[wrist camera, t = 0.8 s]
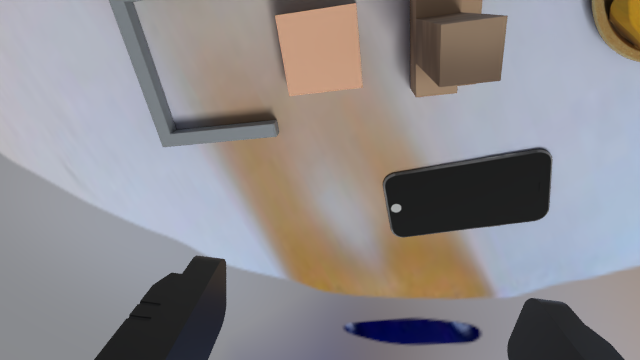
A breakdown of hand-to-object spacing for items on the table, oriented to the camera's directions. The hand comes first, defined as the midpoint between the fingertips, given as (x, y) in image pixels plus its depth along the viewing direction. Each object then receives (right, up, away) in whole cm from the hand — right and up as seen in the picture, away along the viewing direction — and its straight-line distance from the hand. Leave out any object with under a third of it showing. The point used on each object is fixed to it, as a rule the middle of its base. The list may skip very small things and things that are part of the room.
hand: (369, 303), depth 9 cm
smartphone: (+13, +2, +24) cm, 27 cm away
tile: (-1, +14, +19) cm, 24 cm away
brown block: (+8, +15, +17) cm, 24 cm away
